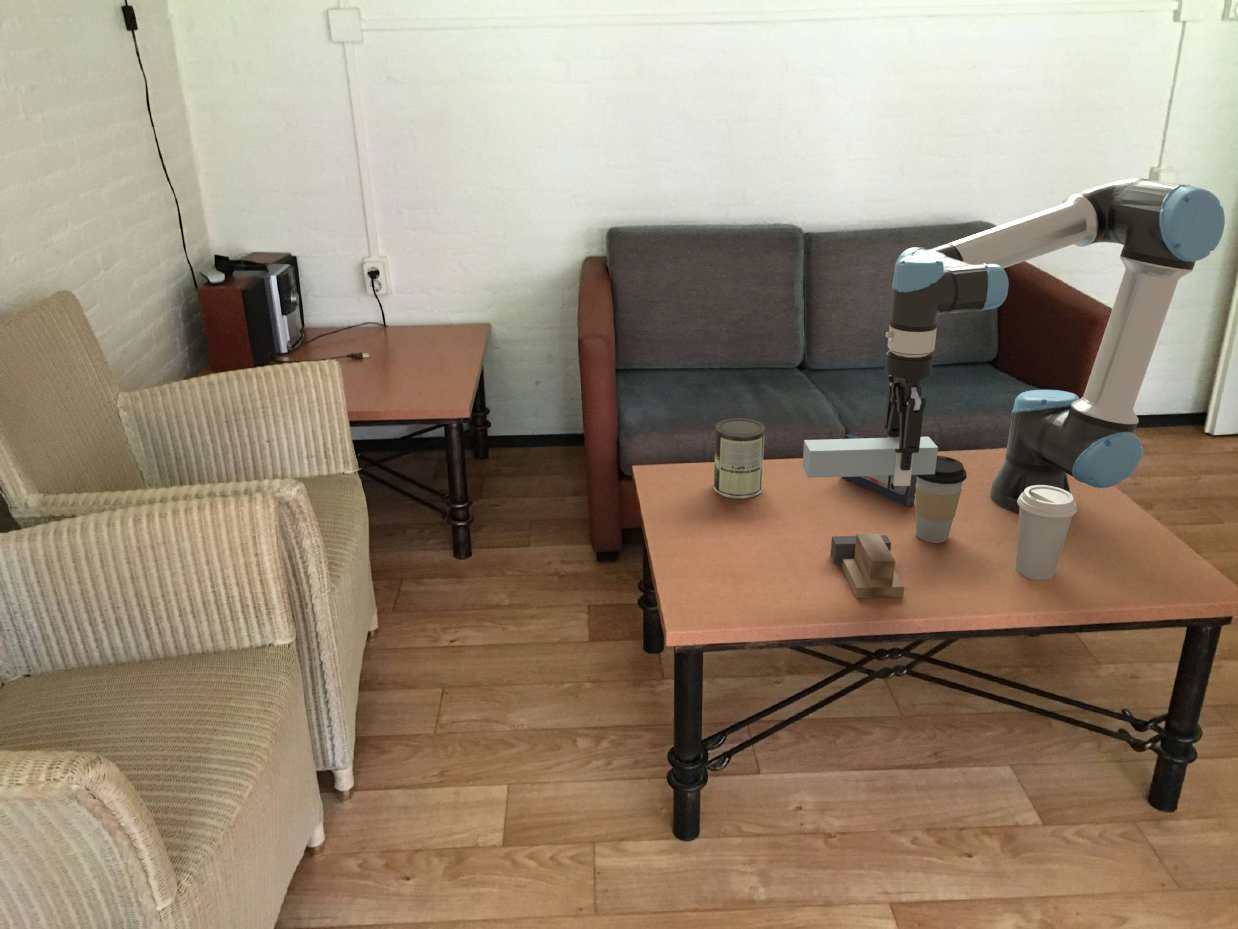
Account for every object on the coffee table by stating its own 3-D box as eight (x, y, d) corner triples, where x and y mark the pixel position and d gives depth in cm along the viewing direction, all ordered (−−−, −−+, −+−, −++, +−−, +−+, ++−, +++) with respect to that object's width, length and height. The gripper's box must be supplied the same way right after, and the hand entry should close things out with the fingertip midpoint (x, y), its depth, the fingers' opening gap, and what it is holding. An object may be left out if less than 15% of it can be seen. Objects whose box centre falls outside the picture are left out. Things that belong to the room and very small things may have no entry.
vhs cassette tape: (839, 477, 212) (843, 435, 208) (849, 474, 214) (853, 432, 210) (904, 508, 198) (910, 463, 194) (914, 504, 199) (920, 459, 196)
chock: (884, 554, 180) (886, 535, 178) (888, 562, 177) (891, 543, 176) (830, 555, 180) (832, 536, 178) (834, 563, 177) (835, 544, 175)
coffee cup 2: (997, 558, 178) (1009, 483, 172) (1048, 557, 179) (1062, 482, 173) (1020, 585, 169) (1034, 507, 163) (1074, 583, 170) (1089, 505, 164)
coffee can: (703, 485, 209) (705, 424, 203) (741, 475, 214) (744, 414, 208) (733, 503, 201) (735, 439, 195) (772, 492, 206) (775, 429, 200)
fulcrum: (886, 568, 175) (890, 533, 173) (902, 597, 166) (907, 560, 163) (842, 569, 175) (845, 534, 172) (855, 598, 166) (859, 561, 163)
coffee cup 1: (960, 530, 189) (971, 458, 183) (954, 551, 181) (964, 477, 175) (910, 521, 192) (919, 450, 186) (901, 541, 185) (910, 468, 179)
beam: (925, 462, 174) (928, 436, 172) (934, 474, 169) (938, 447, 167) (802, 466, 174) (804, 440, 172) (808, 477, 169) (810, 451, 167)
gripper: (873, 336, 171) (862, 458, 181) (903, 368, 155) (889, 501, 164) (916, 335, 171) (903, 457, 181) (950, 367, 155) (934, 499, 164)
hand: (896, 478), depth 172 cm, fingers closed on beam, 5 cm apart
